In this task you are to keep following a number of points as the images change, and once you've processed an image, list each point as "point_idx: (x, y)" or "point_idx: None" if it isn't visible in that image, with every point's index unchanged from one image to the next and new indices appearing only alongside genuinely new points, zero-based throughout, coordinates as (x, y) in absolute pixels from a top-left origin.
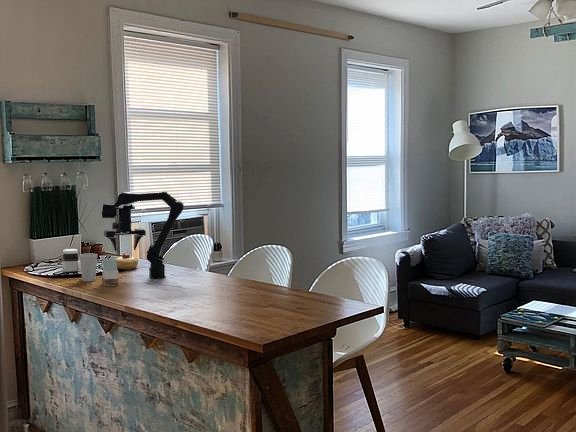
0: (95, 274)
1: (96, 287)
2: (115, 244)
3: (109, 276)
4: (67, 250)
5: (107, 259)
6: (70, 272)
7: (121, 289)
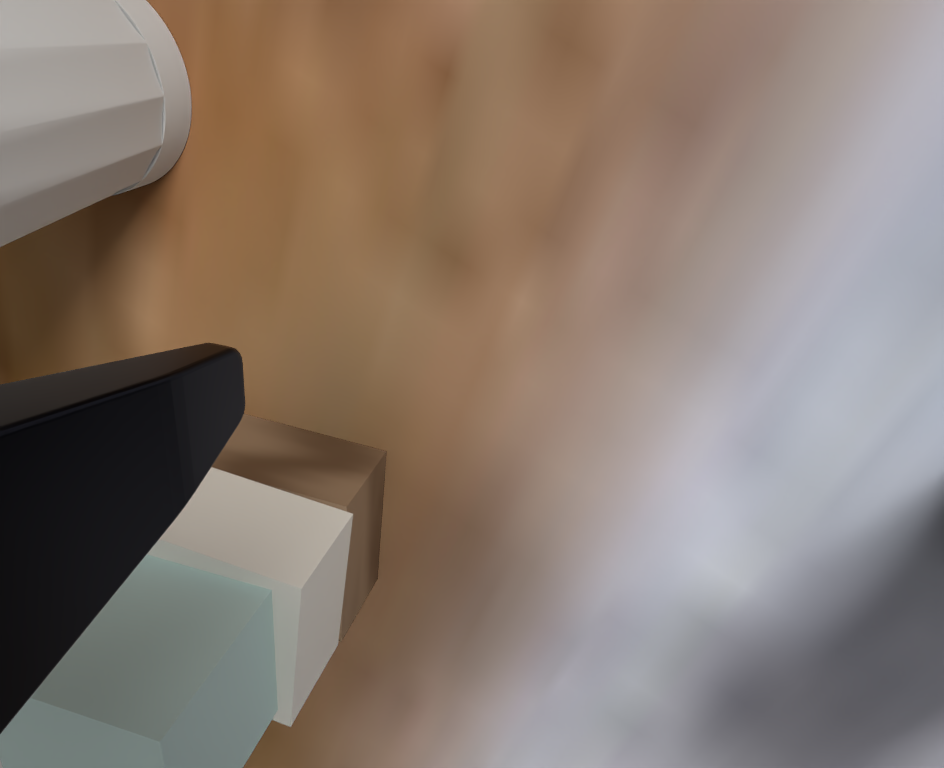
0: (126, 164)
1: None
2: (24, 666)
3: None
4: None
5: (45, 763)
6: None
7: (359, 708)
